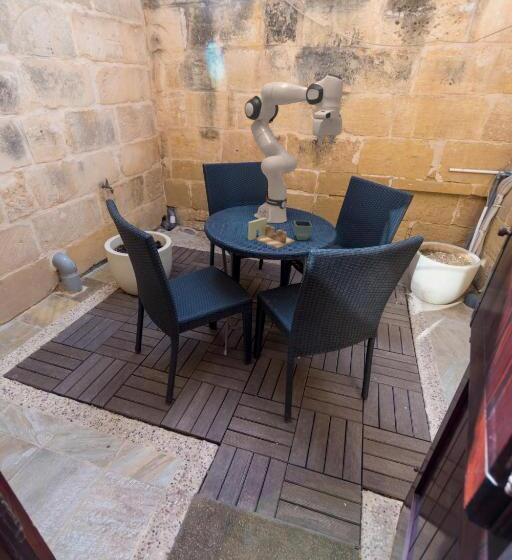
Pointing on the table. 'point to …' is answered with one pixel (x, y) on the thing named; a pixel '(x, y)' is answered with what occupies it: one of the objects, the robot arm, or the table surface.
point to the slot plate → (256, 228)
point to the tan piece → (275, 237)
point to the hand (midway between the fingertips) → (325, 144)
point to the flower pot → (302, 229)
